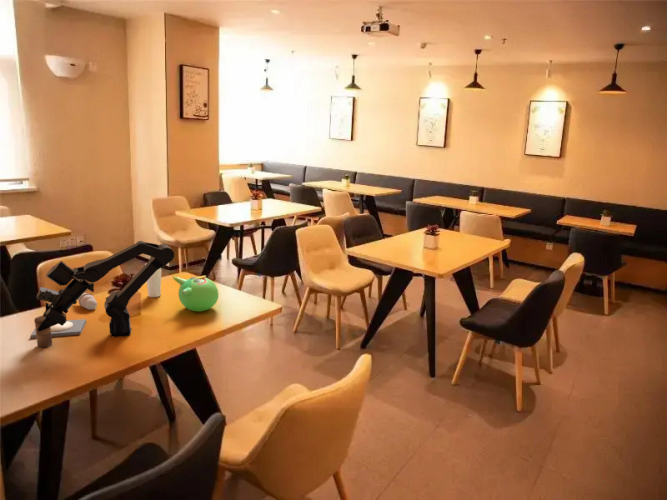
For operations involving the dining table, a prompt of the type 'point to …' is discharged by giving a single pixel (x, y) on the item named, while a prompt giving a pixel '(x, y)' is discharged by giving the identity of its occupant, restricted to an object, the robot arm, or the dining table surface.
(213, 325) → the dining table surface
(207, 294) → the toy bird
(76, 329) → the serving board
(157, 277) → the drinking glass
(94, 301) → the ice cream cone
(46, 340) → the pepper mill
